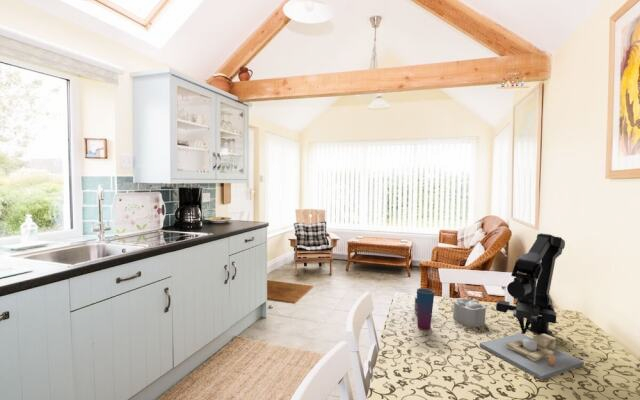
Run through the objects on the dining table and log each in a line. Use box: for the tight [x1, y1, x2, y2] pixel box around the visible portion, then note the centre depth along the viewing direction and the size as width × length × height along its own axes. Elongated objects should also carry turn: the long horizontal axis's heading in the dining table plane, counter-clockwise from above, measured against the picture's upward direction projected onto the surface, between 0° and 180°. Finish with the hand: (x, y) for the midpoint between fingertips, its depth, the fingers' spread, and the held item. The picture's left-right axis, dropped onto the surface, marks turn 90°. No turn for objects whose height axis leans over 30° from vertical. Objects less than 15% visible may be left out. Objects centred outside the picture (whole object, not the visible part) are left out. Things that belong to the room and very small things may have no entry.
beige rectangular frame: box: [506, 334, 557, 361], centre depth 116 cm, size 16×10×4 cm, turn 114°
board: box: [479, 332, 585, 381], centre depth 115 cm, size 22×22×5 cm
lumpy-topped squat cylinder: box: [452, 297, 487, 328], centre depth 144 cm, size 10×13×9 cm
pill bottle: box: [413, 294, 417, 315], centre depth 150 cm, size 6×6×10 cm
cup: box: [416, 287, 435, 331], centre depth 135 cm, size 7×7×15 cm
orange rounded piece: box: [548, 355, 555, 367], centre depth 107 cm, size 2×2×3 cm
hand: (523, 333), depth 124 cm, fingers closed
